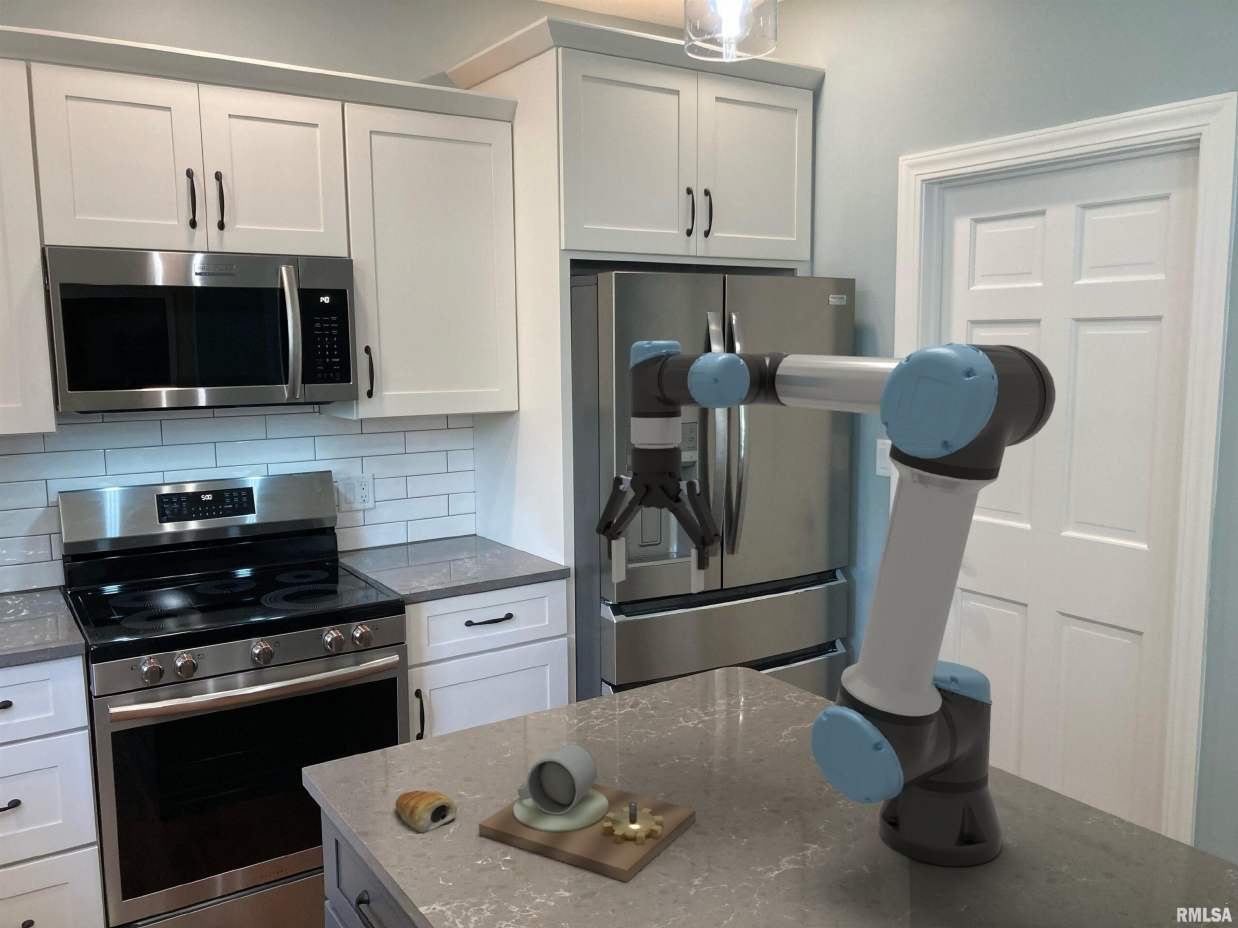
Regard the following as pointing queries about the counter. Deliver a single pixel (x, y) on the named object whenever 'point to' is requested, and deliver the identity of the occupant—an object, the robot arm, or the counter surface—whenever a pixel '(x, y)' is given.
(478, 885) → the counter surface
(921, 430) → the robot arm
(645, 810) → the gear
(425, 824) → the pastry
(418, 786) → the counter surface
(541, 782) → the ceramic mug
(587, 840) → the gear board
